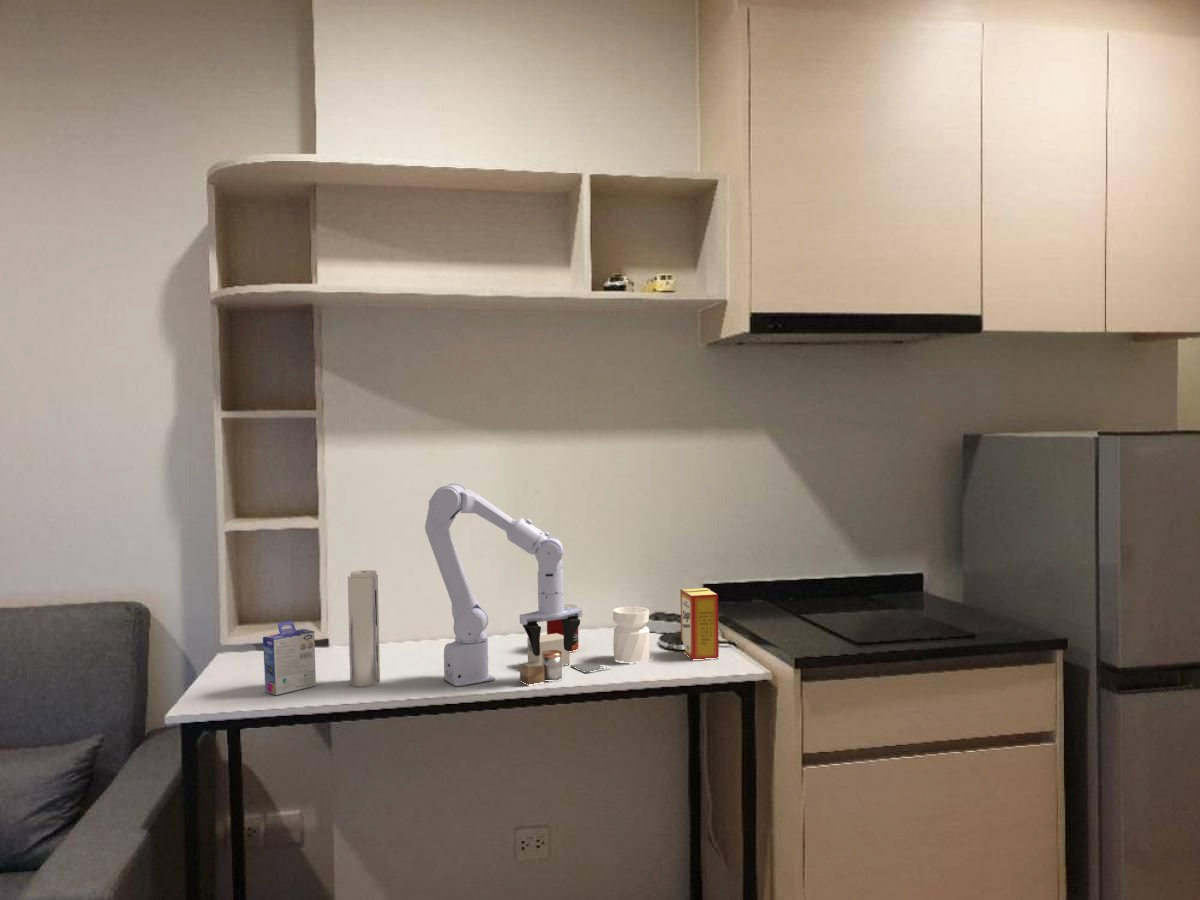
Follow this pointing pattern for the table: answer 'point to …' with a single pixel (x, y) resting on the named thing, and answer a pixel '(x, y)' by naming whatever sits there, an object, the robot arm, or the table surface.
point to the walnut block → (531, 672)
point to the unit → (549, 647)
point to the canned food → (557, 627)
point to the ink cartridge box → (289, 660)
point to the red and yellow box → (699, 623)
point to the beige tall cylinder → (363, 628)
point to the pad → (589, 666)
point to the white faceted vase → (631, 634)
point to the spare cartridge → (552, 664)
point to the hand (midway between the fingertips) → (552, 652)
